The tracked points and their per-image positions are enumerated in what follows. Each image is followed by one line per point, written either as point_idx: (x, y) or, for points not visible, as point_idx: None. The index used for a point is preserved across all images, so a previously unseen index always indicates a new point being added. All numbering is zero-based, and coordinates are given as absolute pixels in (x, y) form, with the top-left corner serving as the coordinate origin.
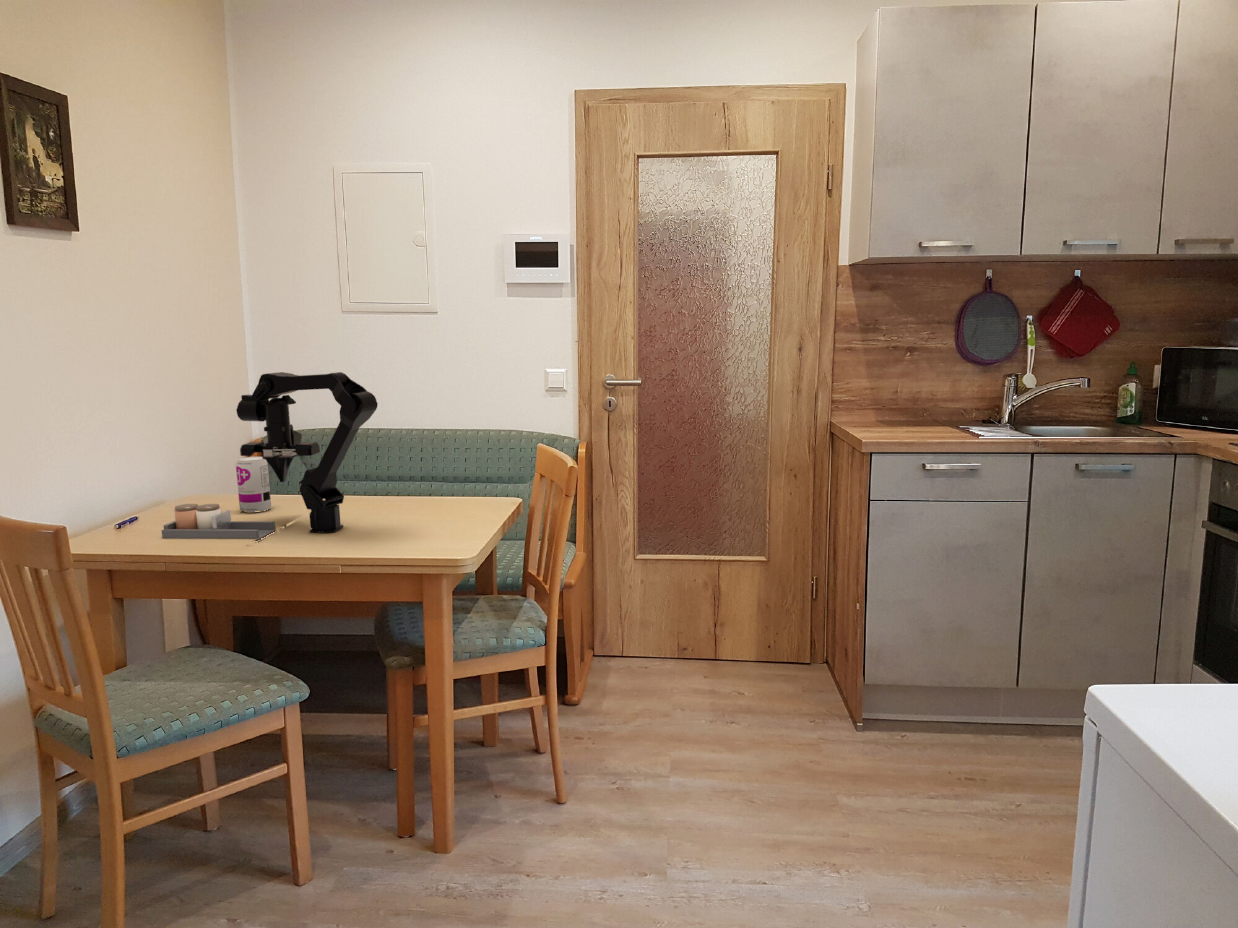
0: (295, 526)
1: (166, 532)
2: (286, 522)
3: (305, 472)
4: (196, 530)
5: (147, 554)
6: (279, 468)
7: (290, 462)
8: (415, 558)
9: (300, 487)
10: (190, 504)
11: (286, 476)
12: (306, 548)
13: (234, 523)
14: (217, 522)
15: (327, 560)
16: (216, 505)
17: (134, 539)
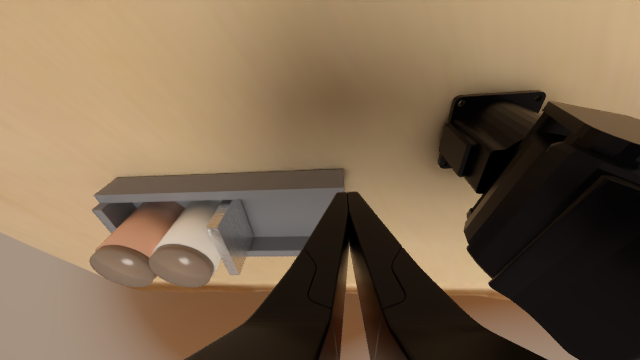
0: (366, 96)
1: None
2: (305, 38)
3: (577, 356)
4: None
5: (210, 283)
6: (342, 295)
7: (452, 313)
8: None
9: (482, 268)
10: (109, 258)
11: (370, 208)
12: (459, 258)
13: (237, 197)
14: (243, 257)
15: (506, 299)
16: (197, 266)
17: (85, 225)
